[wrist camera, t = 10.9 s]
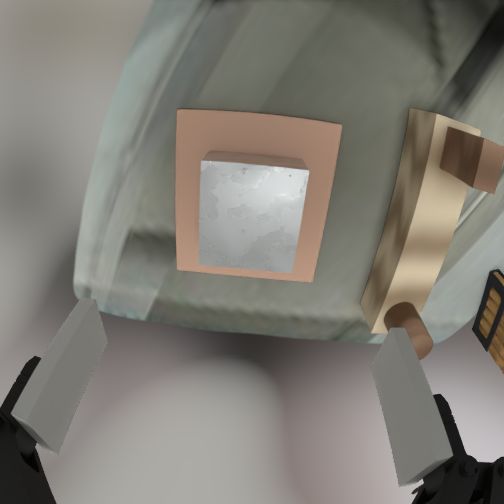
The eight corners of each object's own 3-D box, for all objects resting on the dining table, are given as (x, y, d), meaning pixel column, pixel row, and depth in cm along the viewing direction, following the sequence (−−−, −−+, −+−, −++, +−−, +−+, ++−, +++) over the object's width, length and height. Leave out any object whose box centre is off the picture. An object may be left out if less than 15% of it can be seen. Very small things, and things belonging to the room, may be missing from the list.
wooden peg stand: (410, 107, 23) (472, 123, 15) (451, 121, 23) (517, 143, 15) (360, 303, 34) (383, 369, 25) (396, 305, 34) (425, 367, 25)
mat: (179, 109, 24) (177, 109, 24) (340, 124, 25) (342, 125, 24) (179, 265, 32) (177, 269, 32) (311, 277, 33) (312, 282, 32)
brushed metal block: (209, 150, 26) (200, 160, 22) (302, 159, 26) (309, 170, 22) (206, 242, 30) (198, 264, 26) (288, 250, 30) (291, 273, 27)
